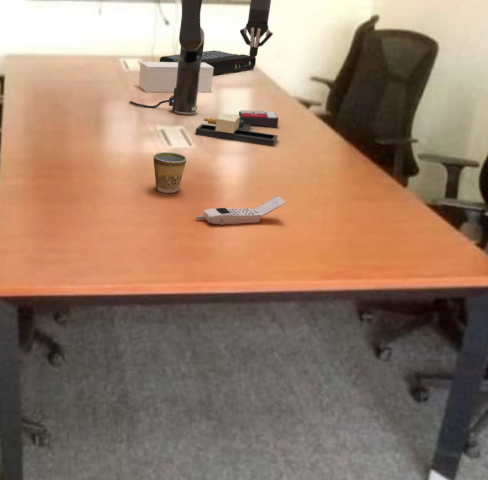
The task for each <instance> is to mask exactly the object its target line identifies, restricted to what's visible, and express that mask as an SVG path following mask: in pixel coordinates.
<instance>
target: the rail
mask: <svg viewBox="0 0 488 480" xmlns="http://www.w3.org/2000/svg"><path fill="white" fill-rule="evenodd" d="M215 129H216V125H213V124H205V123H201V124H199V125H198V126H197V127H196V128H195V134H194V135H197V136H202V137H203V136H204V137H208V138H209V137H210V138H215V139H216V138H217V139H223V140H228V141H234V142H235V141H236V142H240V143H241V142H242V143H248V144H255V145H261V146H268V147H274V146H275V144H276V143H277V142H278V138H279V137H278V136H279V135H278V134H272V133H266V132H258V131H252V130H248V131H246V130H239V129H237V130H236V132H235V134H232V133H225V132H219V131H215Z"/></svg>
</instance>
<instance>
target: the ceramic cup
mask: <svg viewBox="0 0 488 480" xmlns="http://www.w3.org/2000/svg"><path fill="white" fill-rule="evenodd" d="M186 163H187V156H186V155H184V154H181V153H177V152H170V151H169V152H168V151H162V152H161V151H160V152H157V153H154V154H153V168H154V178H155V179H154V181H155V188H156V190H157V191H158V192H160V193H164V194H174V193H177V192H179V189H180V186H181V182H182V178H183V174H184V171H185V168H186Z"/></svg>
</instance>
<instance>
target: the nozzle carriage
mask: <svg viewBox="0 0 488 480" xmlns="http://www.w3.org/2000/svg"><path fill="white" fill-rule="evenodd" d="M235 115H236V114H229V113H228V114H227V113H221V114H220V115H219V116H218V117H213V116H208V118H207V117H204V118H203V121H204V122H207V124H208V125H215V126H216V129H215V131H219V132H225V133H232V134H235V132H236V130H237V129H238V128H239V120H240V116H239V115H237V116H235Z"/></svg>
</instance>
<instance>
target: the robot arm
mask: <svg viewBox="0 0 488 480" xmlns="http://www.w3.org/2000/svg"><path fill="white" fill-rule="evenodd" d="M203 1H204V0H181V18H180V26H179V27H180V28H179V35H178V43H179V45H180V50H179V51H180V52H179V55H180V56H179V60H178V68H177V79H176V87H175V88H174V92H173V94H172V95H171V96H170V97H168V99H165V100H161V101H159V102H158V103H156V104H155V105H147V104H142V103H137V102H134V101H132V100H129V104H132V105H135V106H138V107H143V108H146V109H147V108H148V109H156V108H158V107H159V106H160V105H162V104H166V103H168V106H169V107H171V108H172V109H171V112H172V113H174V114H177V115H182V116H193V115H196V113H197V110H198V106H197V102H198V93H199V92H198V85H199V75H200V66H201V62H202V56H203V52H204V48H205V47H204V46H205V32H204V29H203V28H202V27H201V12H202V7H203V6H202V5H203ZM271 3H272V0H250V2H249V8H248V9H249V10H248V17H247V23H246V24H245V27H243V28H240V30H239V33H240V36H241V37H242V39H243V41H244V43H245V44H246V45H247V46H249V53H248V55H249V56H251V58H255V57H257V55H258V52H259V48H260V47H262V46H264V45H265V44H266V43H267V42H268V41H269V40H270V39H271V37H272V36H273V35H274V32H272V31H270V29H269V24H268V23H269V16H270V12H271V11H270V10H271ZM247 33H248V35H247ZM264 35H265V37H264V38H263V40H261V38H262V37H263V36H264ZM249 36H250V38H249Z"/></svg>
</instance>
